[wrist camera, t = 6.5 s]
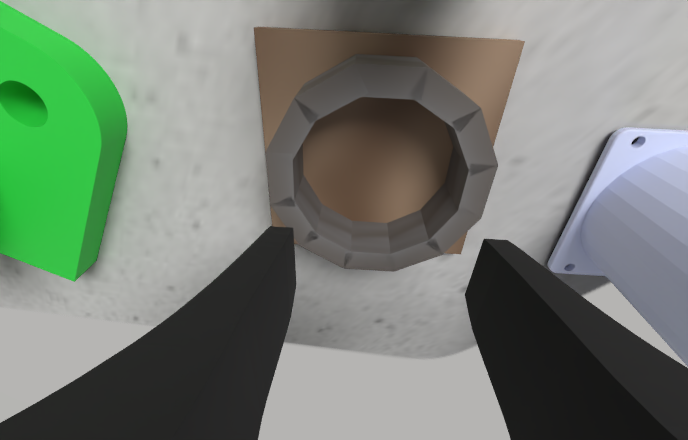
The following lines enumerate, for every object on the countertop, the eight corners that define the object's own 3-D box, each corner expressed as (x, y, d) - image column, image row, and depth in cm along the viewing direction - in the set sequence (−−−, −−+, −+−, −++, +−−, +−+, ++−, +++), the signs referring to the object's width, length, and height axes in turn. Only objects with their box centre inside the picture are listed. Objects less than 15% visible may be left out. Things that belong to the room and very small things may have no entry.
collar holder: (518, 40, 13) (559, 48, 10) (457, 247, 18) (474, 287, 15) (258, 26, 13) (231, 31, 10) (276, 236, 18) (262, 274, 16)
